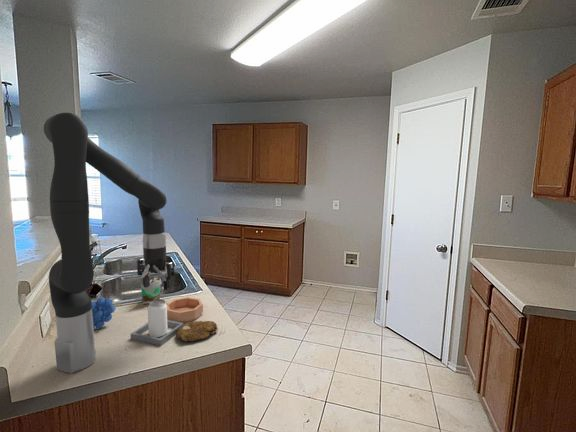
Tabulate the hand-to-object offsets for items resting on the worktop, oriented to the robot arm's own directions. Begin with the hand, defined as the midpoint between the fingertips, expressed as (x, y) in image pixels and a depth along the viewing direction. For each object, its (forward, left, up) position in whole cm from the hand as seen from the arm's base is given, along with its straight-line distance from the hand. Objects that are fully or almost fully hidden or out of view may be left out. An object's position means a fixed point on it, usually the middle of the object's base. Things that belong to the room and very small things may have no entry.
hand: (156, 288), depth 114 cm
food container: (+23, +21, -18) cm, 36 cm away
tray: (0, 0, -18) cm, 18 cm away
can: (0, 0, -18) cm, 18 cm away
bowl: (+16, 0, -18) cm, 24 cm away
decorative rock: (+4, -14, -18) cm, 23 cm away
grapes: (-4, +24, -18) cm, 30 cm away
